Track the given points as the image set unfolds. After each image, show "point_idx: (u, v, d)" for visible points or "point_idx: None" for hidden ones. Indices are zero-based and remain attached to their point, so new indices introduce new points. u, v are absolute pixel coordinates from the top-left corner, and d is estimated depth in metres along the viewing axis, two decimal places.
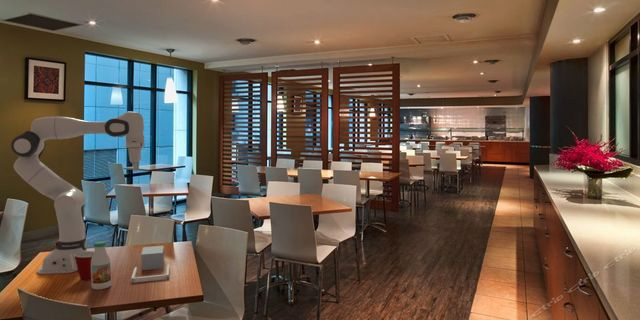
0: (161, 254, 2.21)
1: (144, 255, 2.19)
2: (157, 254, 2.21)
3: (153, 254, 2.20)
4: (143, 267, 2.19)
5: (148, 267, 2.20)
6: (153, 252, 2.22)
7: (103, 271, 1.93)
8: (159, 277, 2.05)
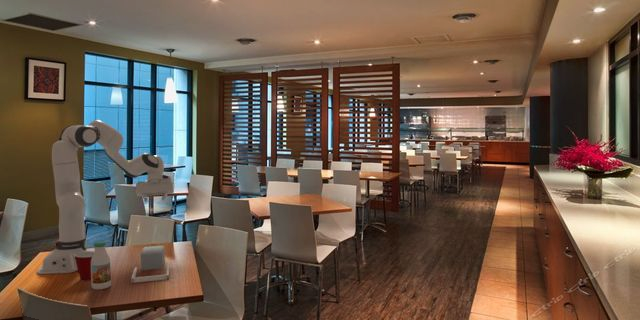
0: (161, 254, 2.21)
1: (144, 255, 2.19)
2: (157, 254, 2.21)
3: (153, 254, 2.20)
4: (143, 267, 2.19)
5: (147, 267, 2.20)
6: (153, 252, 2.22)
7: (103, 271, 1.93)
8: (159, 277, 2.05)
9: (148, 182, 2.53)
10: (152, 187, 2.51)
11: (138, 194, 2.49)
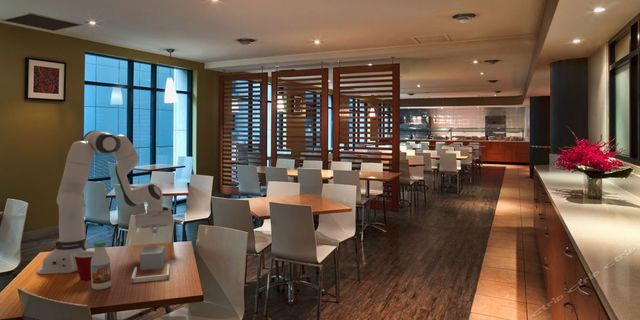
0: (160, 254, 2.21)
1: (143, 255, 2.19)
2: (156, 254, 2.21)
3: (152, 254, 2.20)
4: (142, 267, 2.20)
5: (146, 267, 2.20)
6: (152, 252, 2.22)
7: (103, 271, 1.93)
8: (159, 277, 2.05)
9: (148, 214, 2.51)
10: (152, 219, 2.49)
11: (138, 226, 2.46)
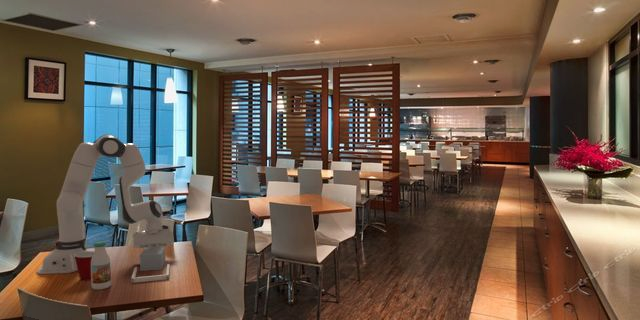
0: (160, 255, 2.20)
1: (143, 256, 2.18)
2: (156, 255, 2.19)
3: (152, 255, 2.19)
4: (142, 268, 2.18)
5: (146, 267, 2.19)
6: (152, 253, 2.21)
7: (103, 271, 1.93)
8: (159, 277, 2.05)
9: (147, 233, 2.38)
10: (151, 238, 2.36)
11: (136, 246, 2.33)
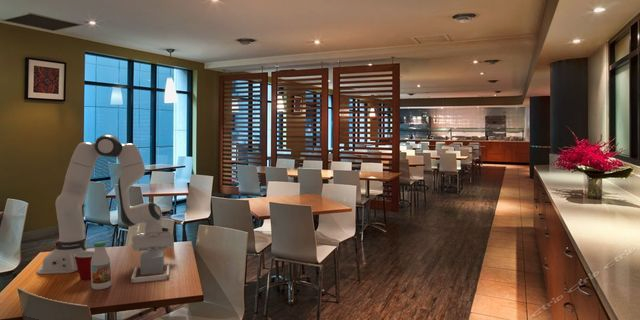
0: (161, 258, 2.14)
1: (143, 259, 2.12)
2: (157, 258, 2.14)
3: (153, 258, 2.13)
4: (142, 272, 2.12)
5: (147, 271, 2.13)
6: (153, 256, 2.15)
7: (103, 271, 1.93)
8: (159, 277, 2.05)
9: (146, 235, 2.32)
10: (150, 241, 2.30)
11: (135, 249, 2.27)
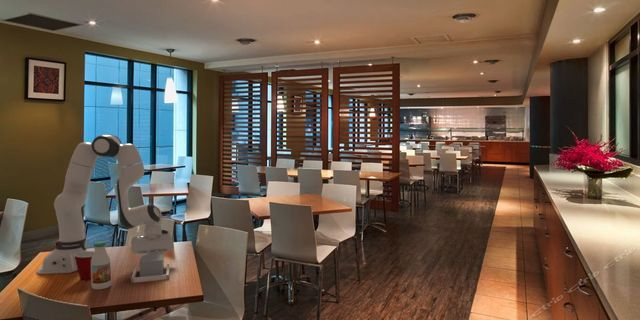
0: (161, 261, 2.09)
1: (143, 263, 2.07)
2: (156, 261, 2.09)
3: (152, 261, 2.08)
4: (141, 275, 2.07)
5: (146, 275, 2.08)
6: (152, 259, 2.10)
7: (103, 271, 1.93)
8: (159, 277, 2.05)
9: (145, 238, 2.27)
10: (150, 244, 2.25)
11: (134, 252, 2.22)
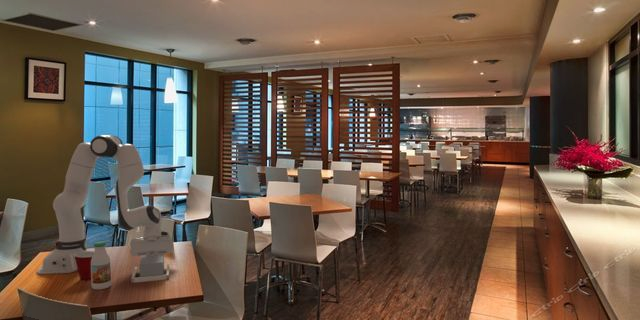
0: (161, 264, 2.06)
1: (143, 265, 2.04)
2: (157, 264, 2.05)
3: (152, 264, 2.05)
4: None
5: None
6: (152, 261, 2.07)
7: (103, 271, 1.93)
8: (159, 277, 2.05)
9: (144, 239, 2.23)
10: (149, 245, 2.22)
11: (133, 254, 2.19)
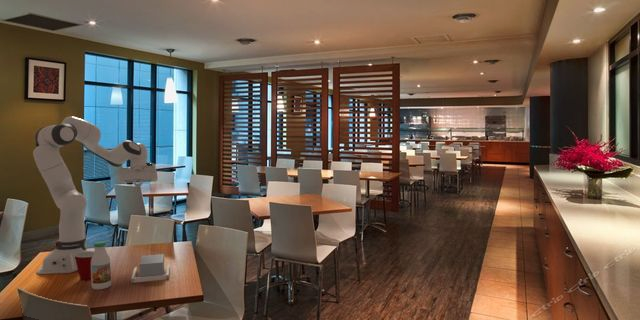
0: (161, 264, 2.06)
1: (143, 265, 2.04)
2: (157, 264, 2.05)
3: (152, 264, 2.05)
4: None
5: None
6: (152, 262, 2.07)
7: (103, 271, 1.93)
8: (159, 277, 2.05)
9: (131, 169, 2.48)
10: (135, 174, 2.47)
11: (121, 180, 2.43)
